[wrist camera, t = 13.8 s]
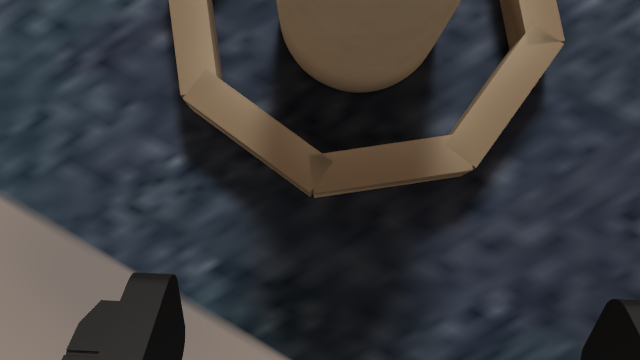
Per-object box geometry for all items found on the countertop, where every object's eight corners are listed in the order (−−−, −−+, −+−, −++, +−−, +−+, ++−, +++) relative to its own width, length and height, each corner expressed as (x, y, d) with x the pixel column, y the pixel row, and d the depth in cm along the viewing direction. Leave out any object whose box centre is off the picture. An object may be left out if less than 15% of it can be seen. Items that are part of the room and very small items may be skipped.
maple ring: (204, 214, 19) (194, 211, 17) (161, -126, 20) (149, -156, 19) (567, 160, 19) (588, 152, 18) (498, -170, 21) (512, -203, 19)
